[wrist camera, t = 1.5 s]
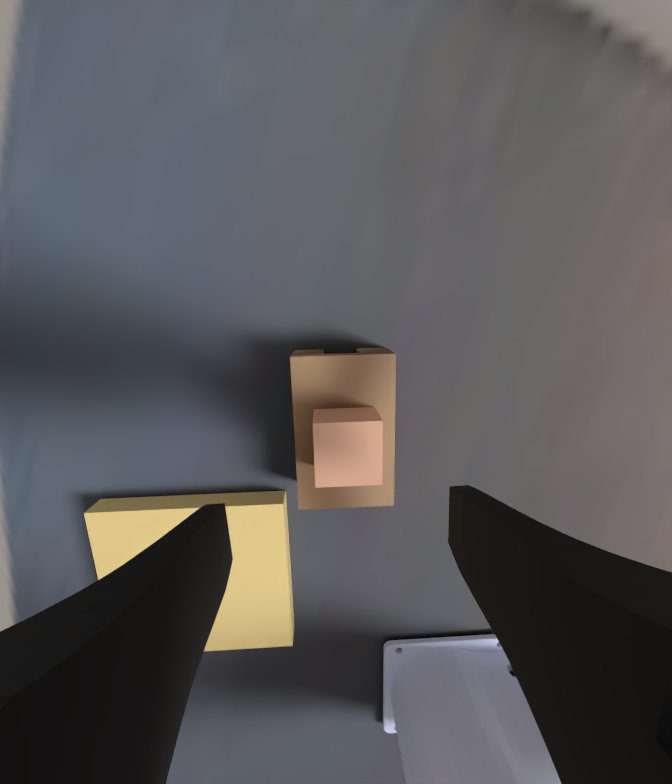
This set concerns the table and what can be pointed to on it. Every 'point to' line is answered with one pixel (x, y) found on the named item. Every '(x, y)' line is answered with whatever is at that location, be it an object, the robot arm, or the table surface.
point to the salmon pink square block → (347, 447)
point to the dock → (249, 550)
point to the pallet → (342, 390)
